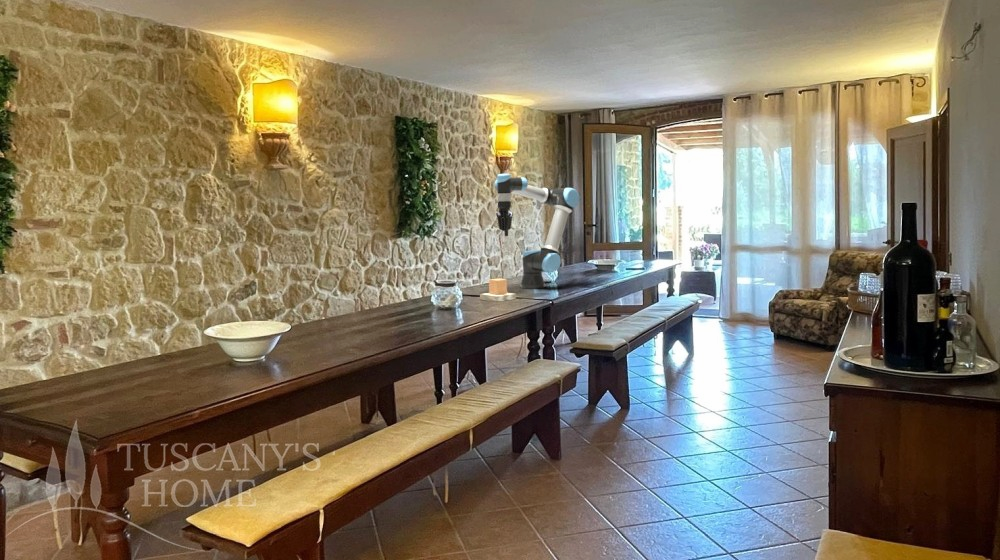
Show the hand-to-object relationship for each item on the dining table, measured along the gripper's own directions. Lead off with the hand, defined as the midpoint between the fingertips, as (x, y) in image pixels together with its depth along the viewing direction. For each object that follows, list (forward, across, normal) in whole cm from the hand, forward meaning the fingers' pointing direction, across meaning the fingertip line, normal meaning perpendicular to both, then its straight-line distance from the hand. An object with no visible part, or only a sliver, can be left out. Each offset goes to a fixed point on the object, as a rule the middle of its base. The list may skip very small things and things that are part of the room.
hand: (505, 241), depth 405 cm
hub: (+30, +14, -18) cm, 38 cm away
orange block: (+27, +14, -18) cm, 36 cm away
